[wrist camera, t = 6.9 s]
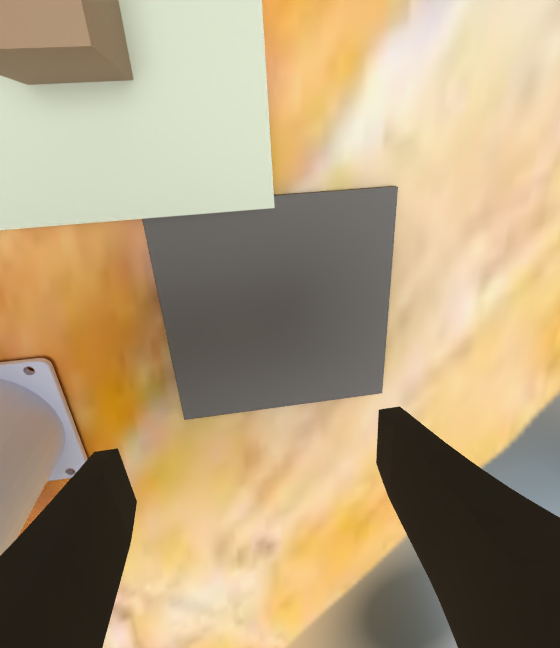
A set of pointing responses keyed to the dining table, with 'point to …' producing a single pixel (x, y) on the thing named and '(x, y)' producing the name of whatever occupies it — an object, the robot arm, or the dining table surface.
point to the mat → (277, 299)
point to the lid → (131, 110)
